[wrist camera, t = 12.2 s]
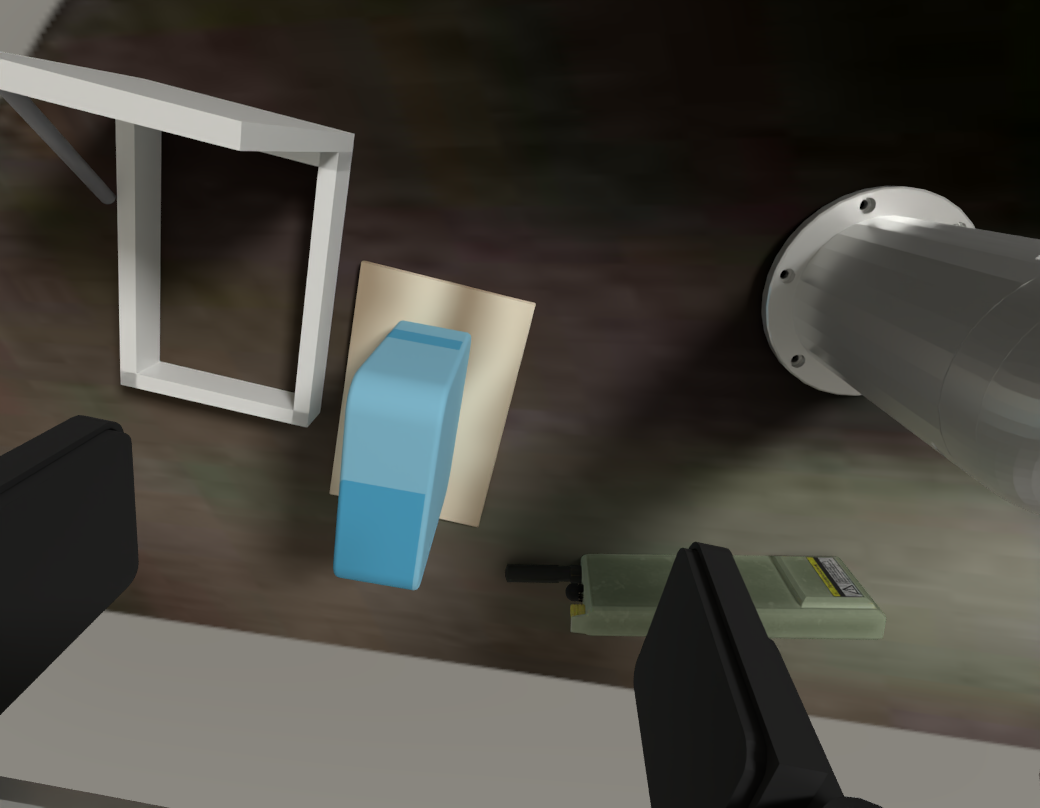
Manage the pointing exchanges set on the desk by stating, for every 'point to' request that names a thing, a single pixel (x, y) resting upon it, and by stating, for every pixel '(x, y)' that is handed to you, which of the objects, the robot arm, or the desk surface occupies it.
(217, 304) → the desk surface
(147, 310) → the stand
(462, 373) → the data package
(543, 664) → the desk surface
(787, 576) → the handheld radio
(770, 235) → the desk surface
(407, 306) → the birch board
